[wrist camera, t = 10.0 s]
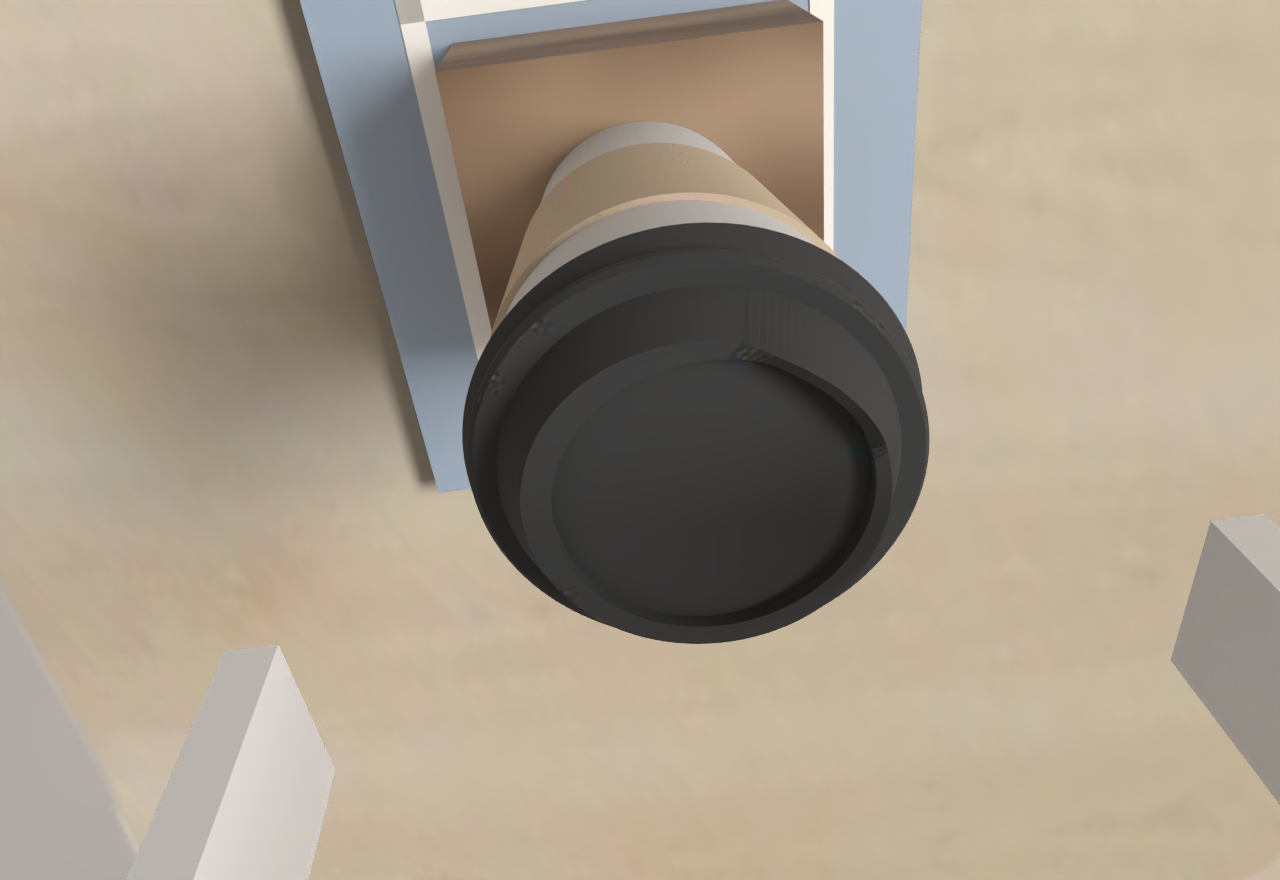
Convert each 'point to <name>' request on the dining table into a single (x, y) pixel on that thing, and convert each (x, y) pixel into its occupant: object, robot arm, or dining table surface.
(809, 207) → the walnut base block
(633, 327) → the coffee cup
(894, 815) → the dining table surface
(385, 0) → the board
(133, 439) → the dining table surface
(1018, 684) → the dining table surface
